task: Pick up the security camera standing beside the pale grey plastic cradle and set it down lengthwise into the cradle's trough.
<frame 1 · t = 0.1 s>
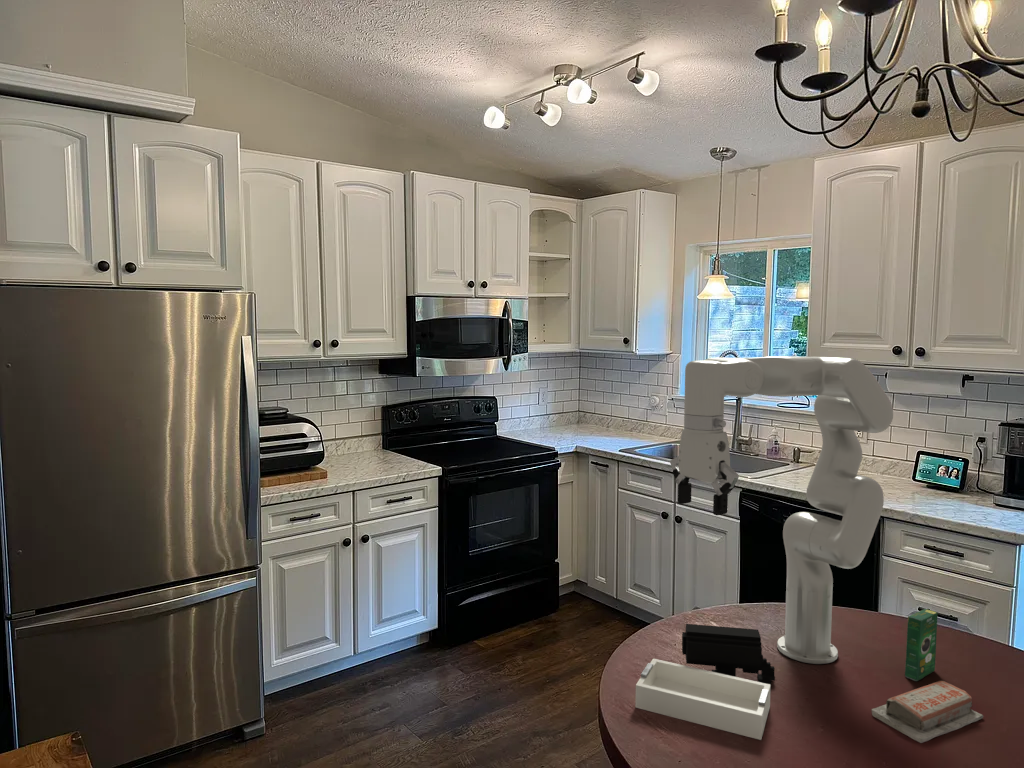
hand: (701, 508, 137), 37 cm above the table, tool pointing down, fingers open, 9 cm apart
coffee box: (920, 674, 145), on the table
cradle: (702, 707, 132), on the table
packaged product: (926, 720, 129), on the table
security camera: (727, 678, 144), on the table
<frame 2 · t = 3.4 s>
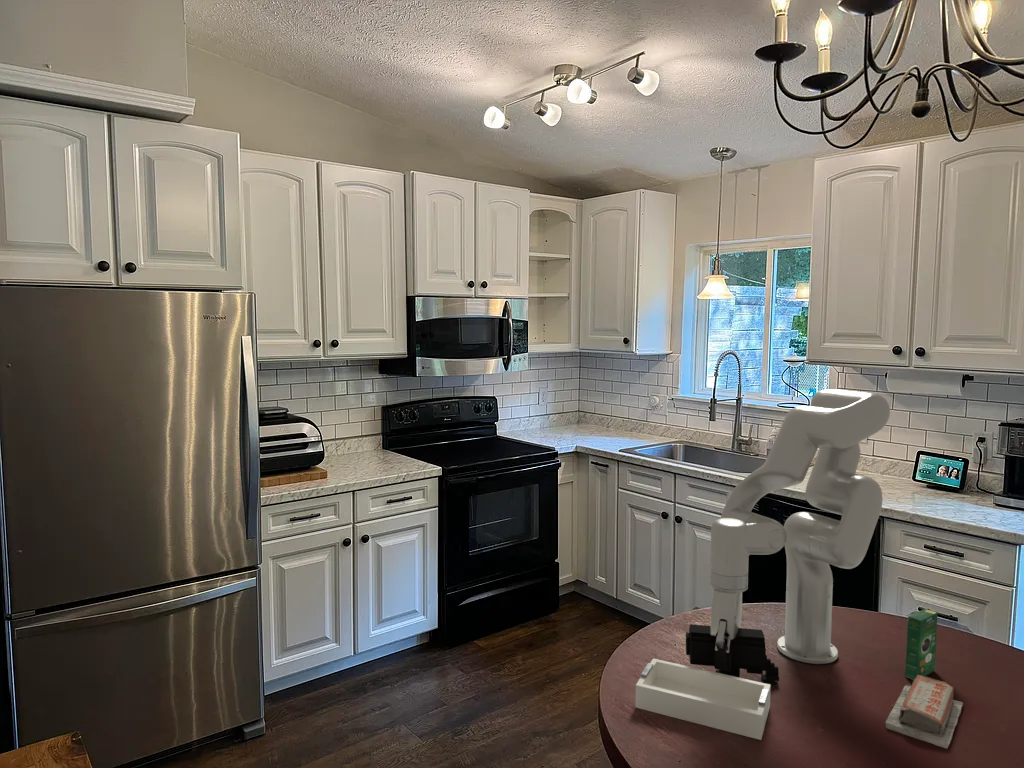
hand: (726, 660, 143), 4 cm above the table, tool pointing down, fingers closed on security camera, 8 cm apart
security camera: (731, 678, 143), on the table, touching gripper
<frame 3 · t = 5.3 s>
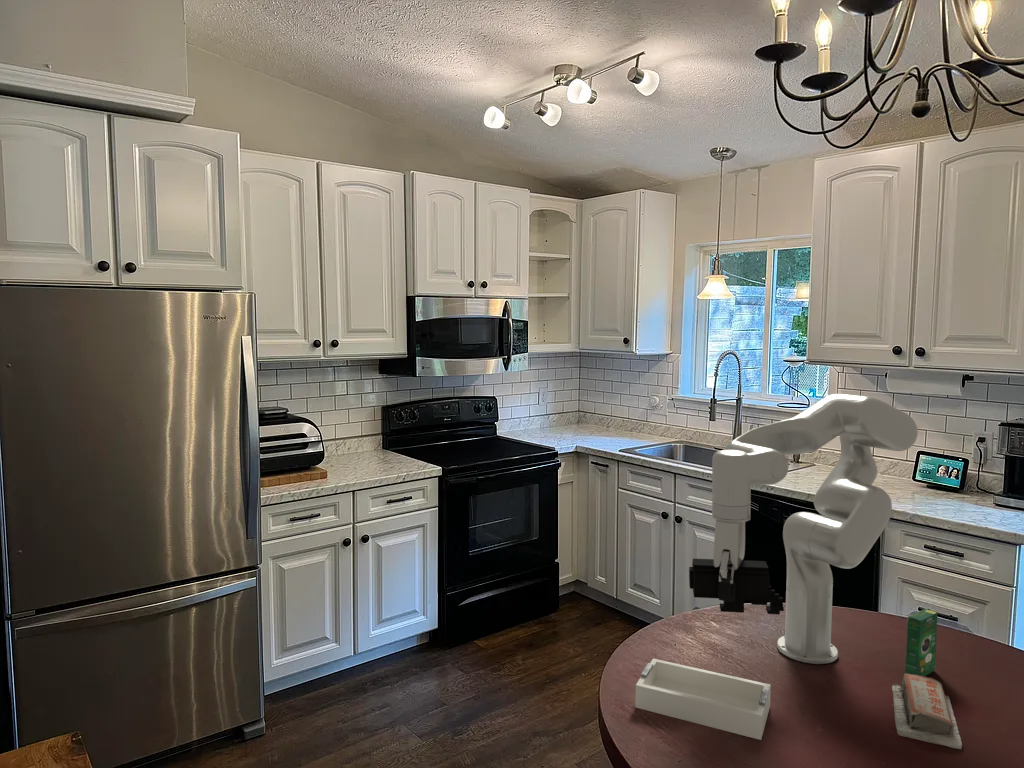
hand: (730, 592, 142), 18 cm above the table, tool pointing down, fingers closed on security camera, 8 cm apart
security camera: (735, 610, 143), point 14 cm above the table, touching gripper
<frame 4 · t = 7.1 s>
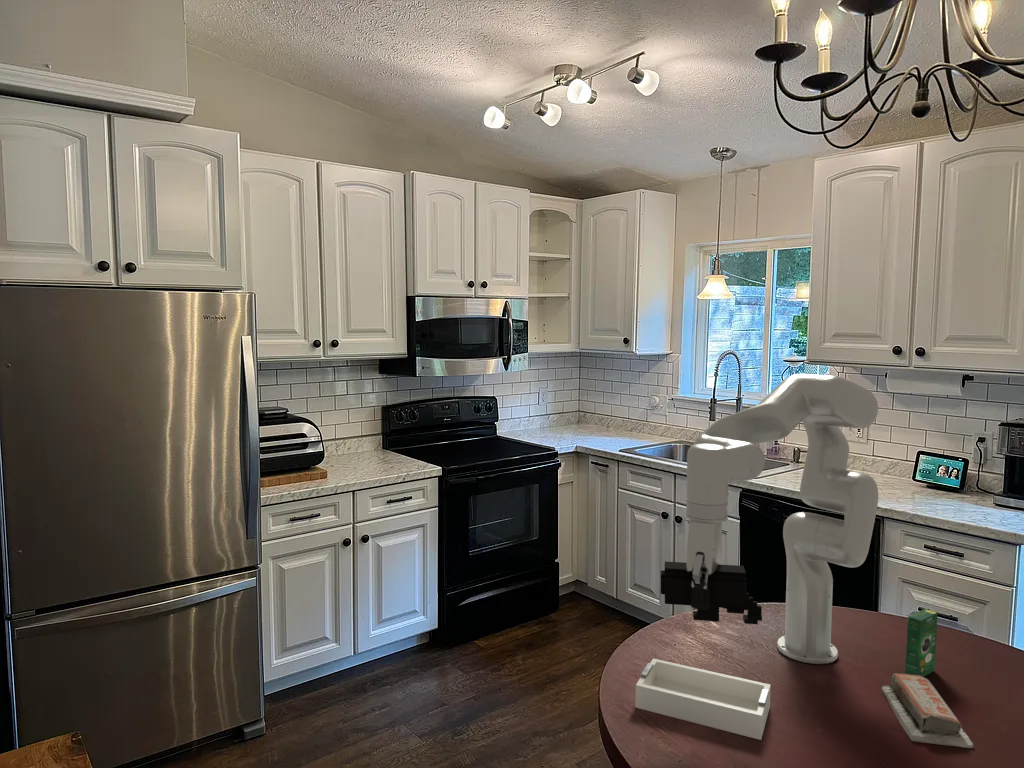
hand: (705, 599, 130), 21 cm above the table, tool pointing down, fingers closed on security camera, 8 cm apart
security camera: (710, 619, 131), point 18 cm above the table, touching gripper
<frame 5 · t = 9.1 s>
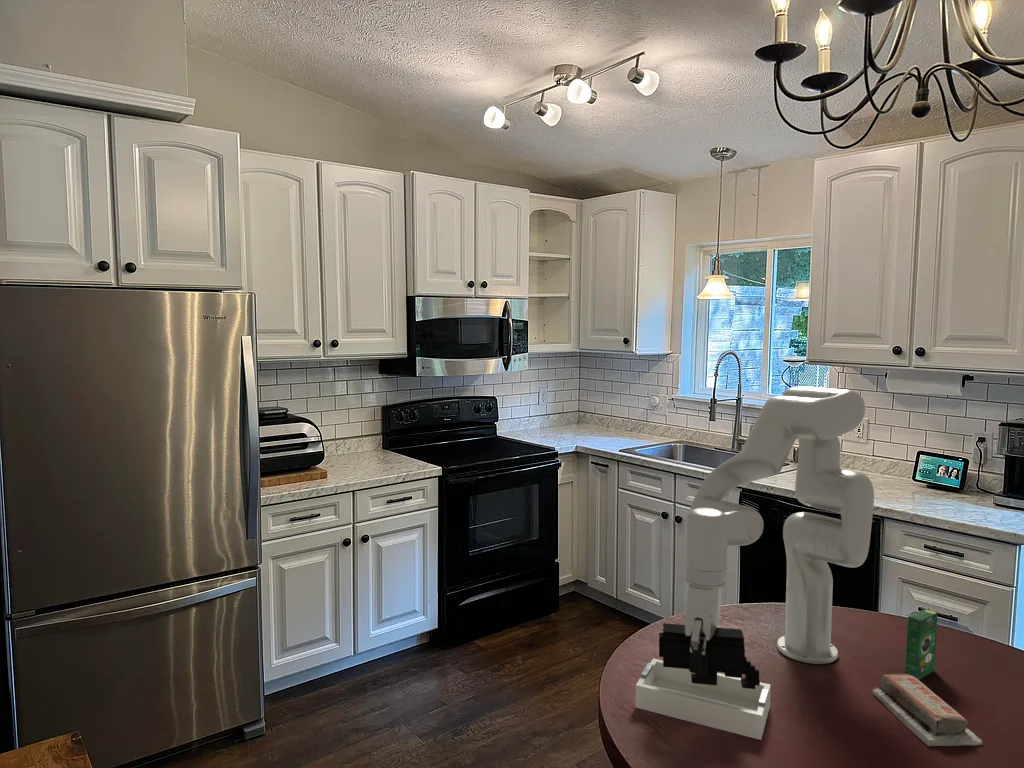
hand: (703, 662, 131), 9 cm above the table, tool pointing down, fingers closed on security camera, 8 cm apart
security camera: (708, 682, 131), point 5 cm above the table, touching gripper
when the fingers open (5 cm above the table, at t = 11.0 s): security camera stays where it is, resting on cradle.
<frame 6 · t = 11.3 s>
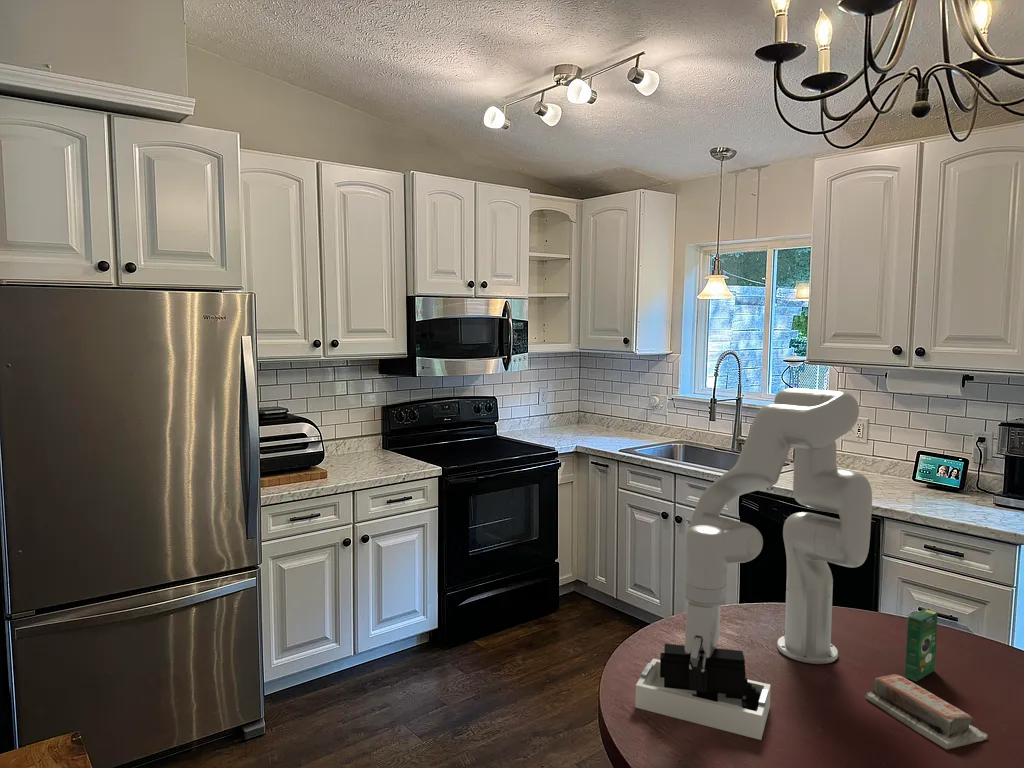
hand: (703, 678, 132), 6 cm above the table, tool pointing down, fingers open, 9 cm apart
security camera: (708, 703, 132), point 1 cm above the table, touching cradle
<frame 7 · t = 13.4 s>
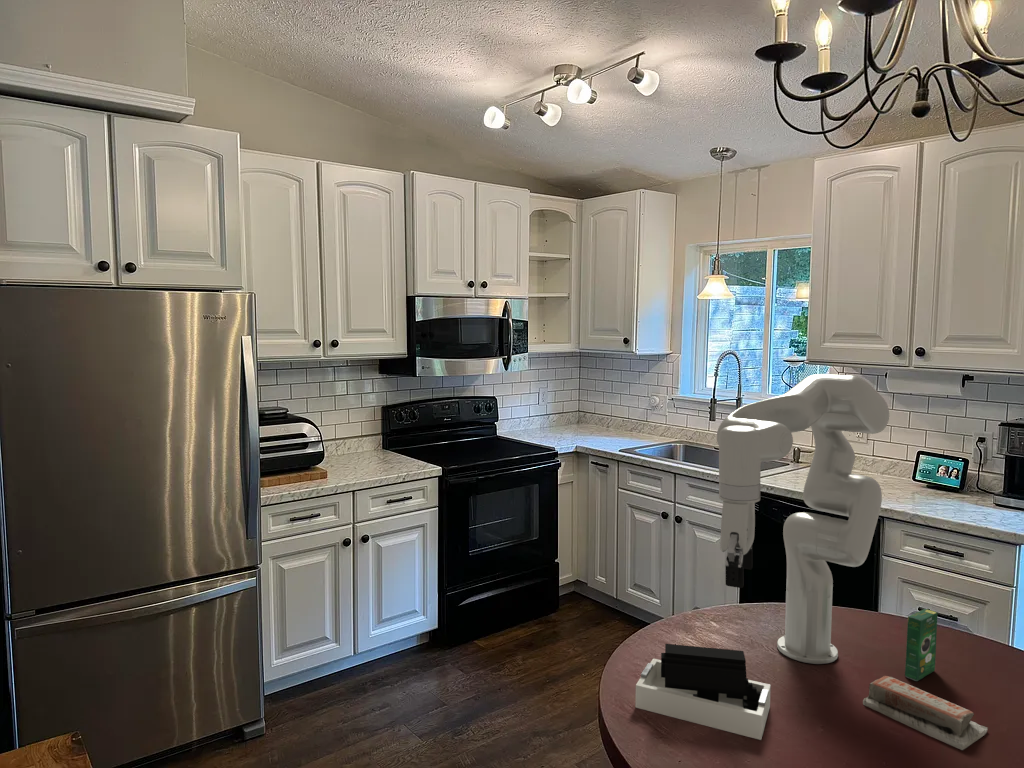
hand: (739, 577, 133), 25 cm above the table, tool pointing down, fingers open, 9 cm apart
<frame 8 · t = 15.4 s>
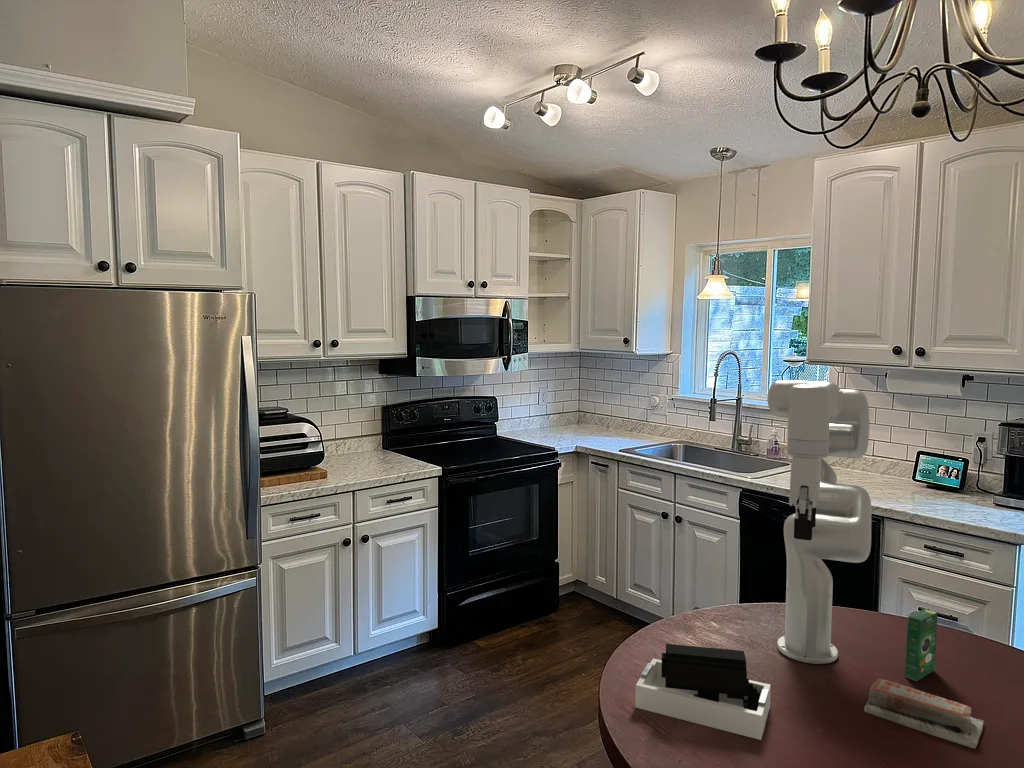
hand: (804, 532, 136), 32 cm above the table, tool pointing down, fingers open, 9 cm apart
at the end: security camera 1.4 cm off-centre on the cradle, point 0.8 cm above the cradle's base; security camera tilted 0°; the gripper is holding nothing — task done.
